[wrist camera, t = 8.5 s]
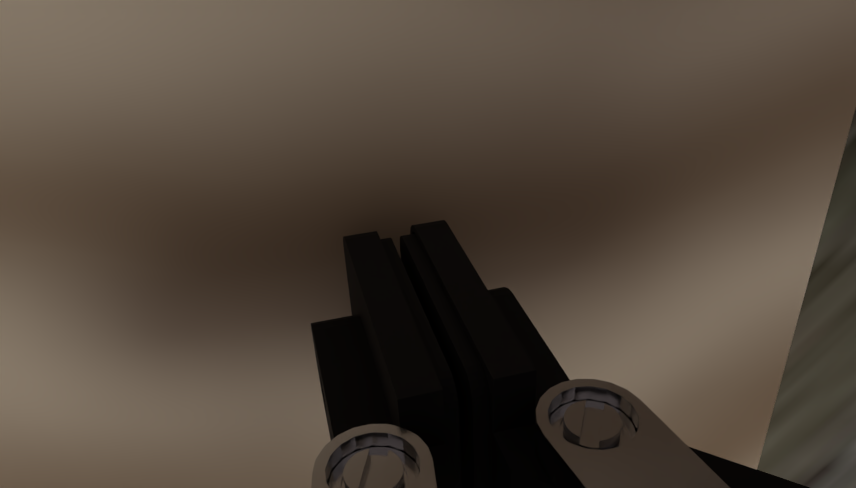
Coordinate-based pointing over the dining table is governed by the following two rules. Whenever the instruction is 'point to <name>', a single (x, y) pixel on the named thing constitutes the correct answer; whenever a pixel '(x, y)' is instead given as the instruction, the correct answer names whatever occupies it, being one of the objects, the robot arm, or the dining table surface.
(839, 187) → the dining table surface
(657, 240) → the wooden recessed tray
